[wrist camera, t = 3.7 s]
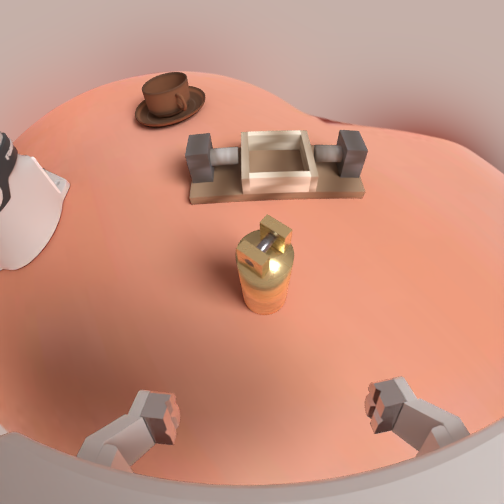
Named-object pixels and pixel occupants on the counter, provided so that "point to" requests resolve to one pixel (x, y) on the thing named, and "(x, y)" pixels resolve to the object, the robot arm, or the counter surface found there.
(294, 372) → the counter surface
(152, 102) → the cup and saucer
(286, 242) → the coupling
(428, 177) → the counter surface
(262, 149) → the shaft stand
